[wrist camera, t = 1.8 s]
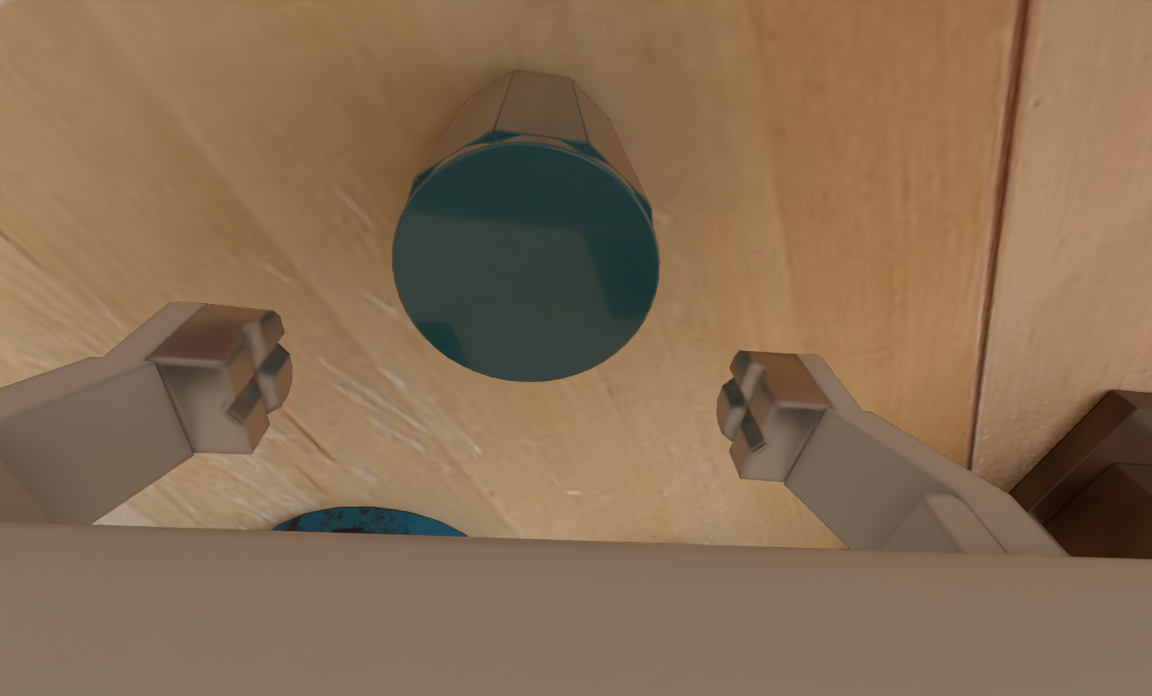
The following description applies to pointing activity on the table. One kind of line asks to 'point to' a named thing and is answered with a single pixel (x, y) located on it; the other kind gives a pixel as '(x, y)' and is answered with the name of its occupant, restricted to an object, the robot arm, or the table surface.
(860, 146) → the table surface
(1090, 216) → the table surface
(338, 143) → the table surface
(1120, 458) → the rack
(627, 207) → the teal piece
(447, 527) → the desk lamp
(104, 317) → the table surface
